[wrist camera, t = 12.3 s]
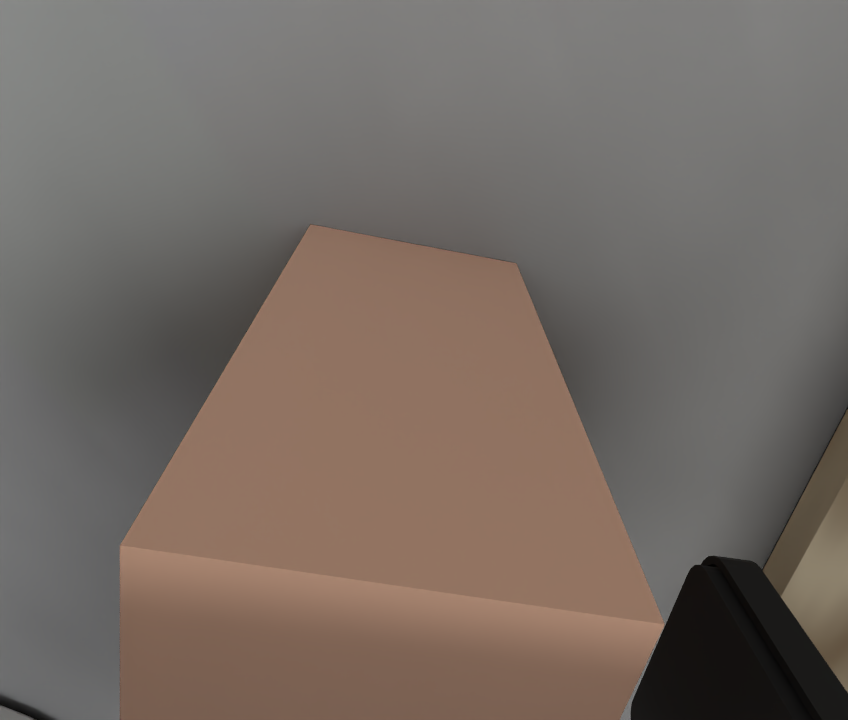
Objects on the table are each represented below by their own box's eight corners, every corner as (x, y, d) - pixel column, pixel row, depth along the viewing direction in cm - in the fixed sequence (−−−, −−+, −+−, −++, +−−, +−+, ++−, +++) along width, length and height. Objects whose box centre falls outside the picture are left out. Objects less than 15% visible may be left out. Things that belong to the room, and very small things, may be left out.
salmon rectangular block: (475, 419, 16) (539, 886, 7) (290, 387, 16) (120, 842, 7) (515, 263, 15) (665, 624, 6) (310, 224, 14) (119, 545, 5)
